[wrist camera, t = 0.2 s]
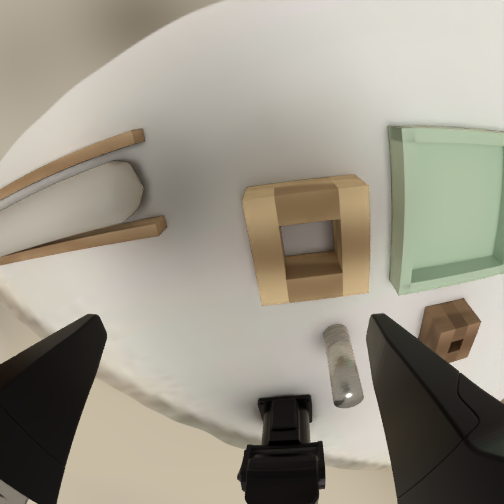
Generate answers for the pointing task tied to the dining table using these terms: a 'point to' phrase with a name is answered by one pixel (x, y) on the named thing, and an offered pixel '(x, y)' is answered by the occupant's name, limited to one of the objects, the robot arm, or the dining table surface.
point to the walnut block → (449, 329)
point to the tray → (445, 206)
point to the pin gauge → (342, 367)
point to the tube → (71, 207)
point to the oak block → (316, 264)
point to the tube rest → (93, 237)
